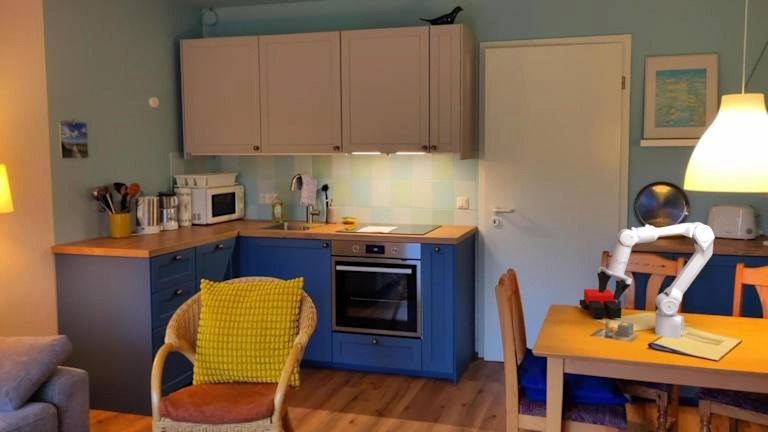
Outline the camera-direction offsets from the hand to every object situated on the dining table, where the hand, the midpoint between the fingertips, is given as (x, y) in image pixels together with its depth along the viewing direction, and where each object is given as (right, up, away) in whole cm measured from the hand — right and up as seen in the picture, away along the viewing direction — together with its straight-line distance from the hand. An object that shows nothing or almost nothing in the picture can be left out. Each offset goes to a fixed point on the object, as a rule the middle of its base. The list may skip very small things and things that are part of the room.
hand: (608, 296), depth 261 cm
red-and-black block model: (+7, -12, +31) cm, 34 cm away
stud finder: (+5, -14, -2) cm, 15 cm away
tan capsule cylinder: (-2, -14, -5) cm, 15 cm away
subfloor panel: (+2, -15, -2) cm, 15 cm away
